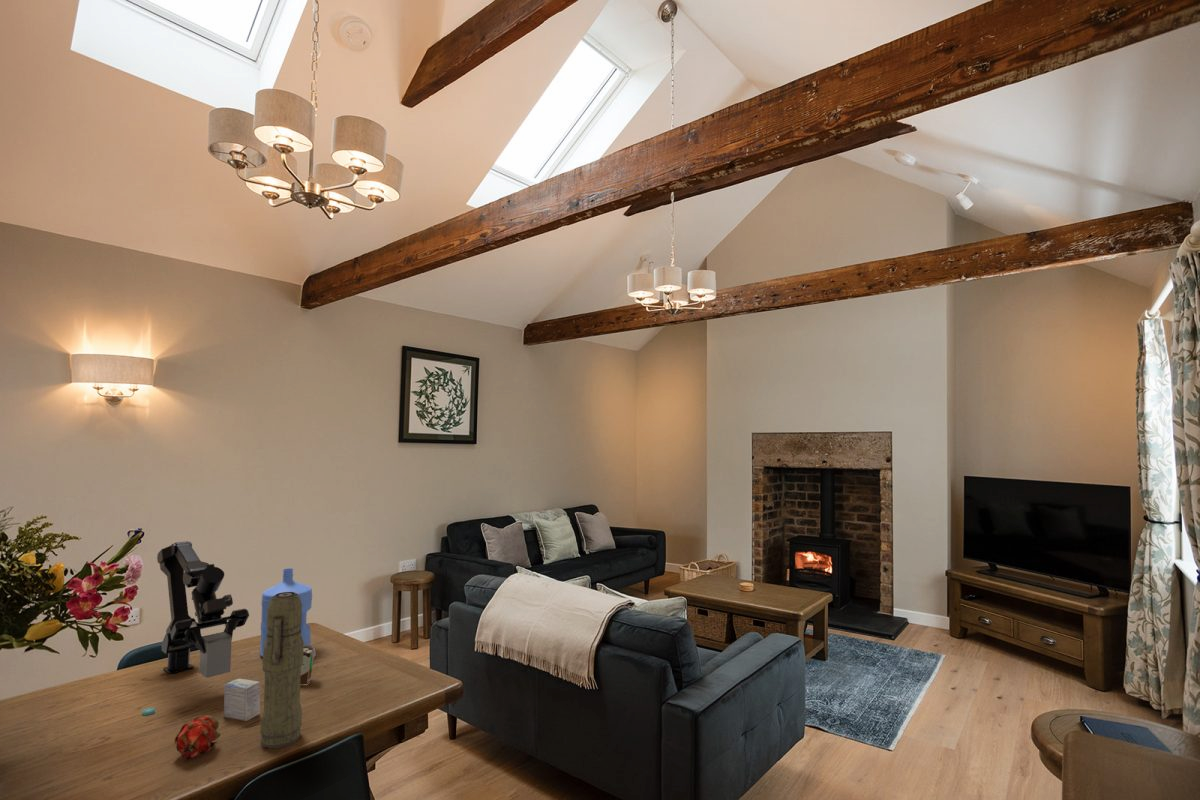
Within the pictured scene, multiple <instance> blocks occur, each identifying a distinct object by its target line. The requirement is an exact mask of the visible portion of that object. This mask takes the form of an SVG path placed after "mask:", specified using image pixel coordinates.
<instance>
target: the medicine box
mask: <svg viewBox="0 0 1200 800" xmlns="http://www.w3.org/2000/svg"><path fill="white" fill-rule="evenodd" d="M223 696H224V697H223V701H224V703H223V717H224V718H229V719H233V720H238V721H244V722H247V721H250V720H251V719H254V718H255V717H257V716H260V713H261V682H260V681H257V680H251V679H245V678H237V679H233V680H232V681H229V682H227V683H225V684H224V695H223Z"/></svg>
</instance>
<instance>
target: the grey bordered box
mask: <svg viewBox="0 0 1200 800" xmlns="http://www.w3.org/2000/svg"><path fill="white" fill-rule="evenodd" d="M201 636H202V635H201ZM202 639H203V642H204V645H205V650H206V652H205V653H204V654H203V653H202V652H201V651H200V650H199V666H198V667H199V674H201V675H202V676H203V677H204V678H206V679H208V678H209V679H210V678H213V677H216V676H219V675H223V674H227V673H231V665H232V664H231V663H232V662H231V661H232V659H231V658H232V642H231V640H233V635H232V636H230V635H229V634H227V633H226V632H224V631H222V632H216V633H212V634H207V635H204V636H202Z"/></svg>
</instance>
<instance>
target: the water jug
mask: <svg viewBox="0 0 1200 800" xmlns="http://www.w3.org/2000/svg"><path fill="white" fill-rule="evenodd" d="M282 571H283V573H282V581H281V582H279V583H277V584H276V585H274V586H272V587H269V588H268V589H266V590H264V591H263V592H262V595H261V619H260V620H261V622H260V647H259V655H260V656H261V657H262V658H263V647H264V644H265V642H266V639H267V633H268V629H267V610H268V605H269V603H270V600H271V598H272V596H274V595H276V594H278V593H282V592H295V593H297V594H299V597H300V600H301V603H302V620H301V625H300V629H301V636H302V639H303V642H304V644H308V645H312V640H311V638H312V637H311V635H312V634H311V633H312V628H311V626H310V625H308V624H307V617H308V615H307V613H308V611H310V610H311V609H312V601H313V589H312V587H311V586H310V585H307V584H304V583H301V582H298V581H295V580H294V579H293V578H294V568H284V569H283V570H282Z"/></svg>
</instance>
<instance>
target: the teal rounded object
mask: <svg viewBox="0 0 1200 800" xmlns="http://www.w3.org/2000/svg"><path fill="white" fill-rule="evenodd" d="M155 713H156V708H155V707H149V708H145V709H143V710H142V711H141V715H142V716H150V715H153V714H155Z"/></svg>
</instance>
